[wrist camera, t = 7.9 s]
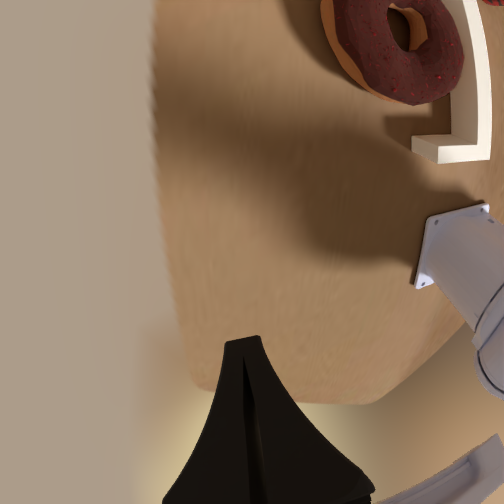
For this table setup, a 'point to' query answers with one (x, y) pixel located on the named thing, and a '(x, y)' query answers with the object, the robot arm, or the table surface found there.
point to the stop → (465, 96)
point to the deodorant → (494, 2)
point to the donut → (396, 48)
